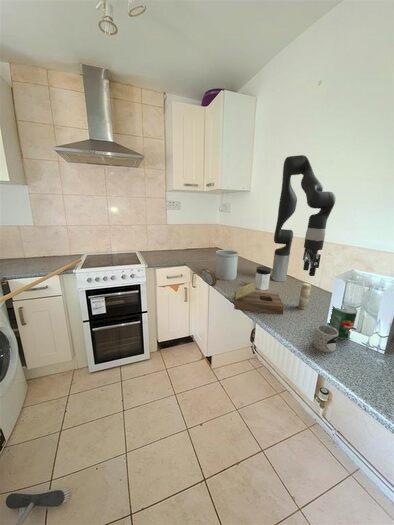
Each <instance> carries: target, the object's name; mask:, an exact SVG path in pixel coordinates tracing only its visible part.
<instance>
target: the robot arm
mask: <svg viewBox="0 0 394 525" xmlns="http://www.w3.org/2000/svg"><path fill="white" fill-rule="evenodd" d="M298 175H302V179H301V181H300V186H301V189H302V191H303V192H304V193H305V197H306V204H307V206H308V207H309V208H311V209H316V210H317V209H320V210H319V211H318V212H317V213H314V214H311V215H310V216H309V217H308V222H307V223H308V224H307V228H306V232H305V237H304V242H303V248H304V252H303V258H302V260H303V263H304V264H303V266H302V267H303V271H309V273H308V275H309V277H315V276H316V271H317V269H319V268H320V261H321V254H319V252H318V251H322V250H323V248H324V242H325V237H326V228H327V222H328V218H329V217H330V214H331V213H332V210H333V208H334V206H335V204H336V201H337V199H336V198H337V197H336V195H335V193H334V192H332V191H324V187H323V185H322V183H321V182H320V181H319V179H318V178H317V176H316V175H315V173H314V171H313V168H312V165H311V163H310V160H309V159H308V157H307V156H306V155H303V154H302V155H300V154H299V155H290V156H287V157H286V158H285V159H284V163H283V166H282V180H281V190H280V197H279V204H278V213H277V221H276V225H275V230H274V236H273V242H274V243H275V244H277V245H278V244H279V245H284V246H282V247H279V248H276V249H274V255H273V262H272V268H271V276H270V278H271V281H272V280H273V281H274V282H278V283H279V282H281V283H283V282H284V283H285V282H286V281H287V276H288V268H289V263H290V255H291V248H292V242H293V237H294V231H293V230H292V229H284V228H283V227H284V225H285V223H286V222H287V221H288V220H289V219H290V218H291V217H292V216H293V215H294V214H295V212H296V208H297V203H298V197H297V195H296V193H295V191H294V189H293V186H292V182H291V181H292V180H291V177H292V176H298ZM282 228H283V229H282Z"/></svg>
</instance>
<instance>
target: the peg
mask: <svg viewBox="0 0 394 525" xmlns="http://www.w3.org/2000/svg"><path fill="white" fill-rule="evenodd" d="M311 290H312V285H311V284H310V283H305V282H303V283H301V288H300V293H299V299H298V305H297V308H298V309H300V310H303V311H305V310H308V306H309V301H310V295H311Z"/></svg>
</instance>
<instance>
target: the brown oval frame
mask: <svg viewBox="0 0 394 525" xmlns="http://www.w3.org/2000/svg"><path fill="white" fill-rule="evenodd" d="M201 278H202V280H203V282H204V283H205V284H207V285H208V286H211V287H213V286H216V285H217V282H218V281H217V280H218V279H217V278H216V273H215V272H213V270H210V269H209V268H203V269H202V270H201Z"/></svg>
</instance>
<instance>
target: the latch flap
mask: <svg viewBox="0 0 394 525" xmlns="http://www.w3.org/2000/svg"><path fill="white" fill-rule="evenodd" d="M235 290H236V300H238V299H240V298H243V297H245V296H247V295H250V294H252V293H255V292H257V288H255V281H254V282H251V283H248V284H245V285H243V286H241V287H238V288H236V289H235Z"/></svg>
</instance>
